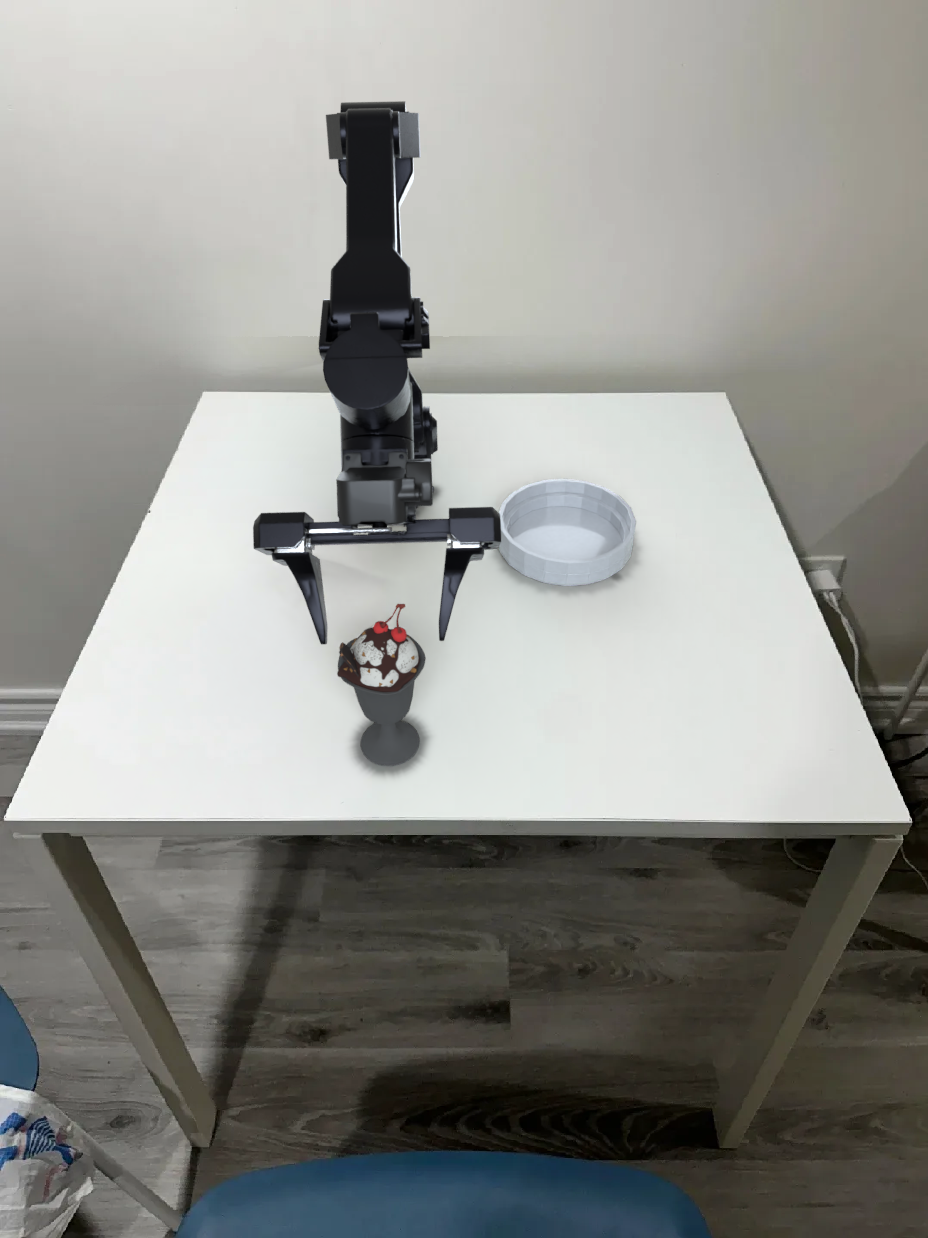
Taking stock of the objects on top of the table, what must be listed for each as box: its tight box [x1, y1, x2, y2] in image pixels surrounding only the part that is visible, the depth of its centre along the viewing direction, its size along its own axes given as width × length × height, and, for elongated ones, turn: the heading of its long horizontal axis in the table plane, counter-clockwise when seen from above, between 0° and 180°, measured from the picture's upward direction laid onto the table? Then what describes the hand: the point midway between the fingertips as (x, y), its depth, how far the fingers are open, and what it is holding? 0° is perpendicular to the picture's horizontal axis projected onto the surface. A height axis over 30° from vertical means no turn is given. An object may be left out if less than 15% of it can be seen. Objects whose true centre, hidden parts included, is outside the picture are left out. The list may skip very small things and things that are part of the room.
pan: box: [498, 478, 637, 587], centre depth 92 cm, size 14×14×4 cm
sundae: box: [336, 603, 427, 767], centre depth 69 cm, size 7×7×15 cm
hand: (382, 642), depth 69 cm, fingers open, 9 cm apart
